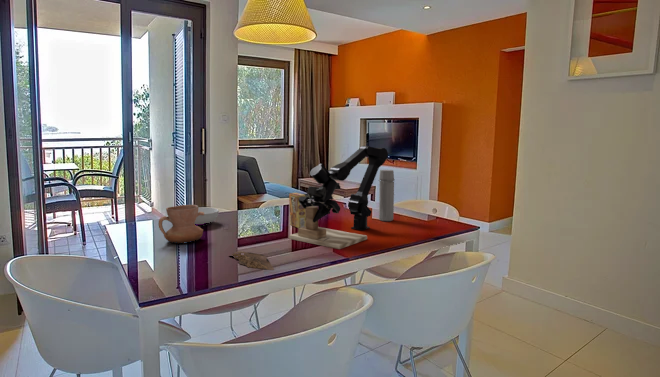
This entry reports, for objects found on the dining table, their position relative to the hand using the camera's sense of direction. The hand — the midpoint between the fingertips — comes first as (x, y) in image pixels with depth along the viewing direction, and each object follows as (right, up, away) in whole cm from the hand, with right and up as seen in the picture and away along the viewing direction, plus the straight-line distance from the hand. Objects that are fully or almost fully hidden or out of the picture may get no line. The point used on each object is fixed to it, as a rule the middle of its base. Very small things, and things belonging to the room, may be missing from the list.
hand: (309, 221), depth 173 cm
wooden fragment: (-18, -12, -26) cm, 34 cm away
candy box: (-7, -5, +27) cm, 28 cm away
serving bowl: (-56, -4, +31) cm, 64 cm away
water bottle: (+36, -3, +39) cm, 53 cm away
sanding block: (+1, -6, +2) cm, 7 cm away
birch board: (+7, -8, +3) cm, 11 cm away
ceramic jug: (-51, -8, 0) cm, 52 cm away
